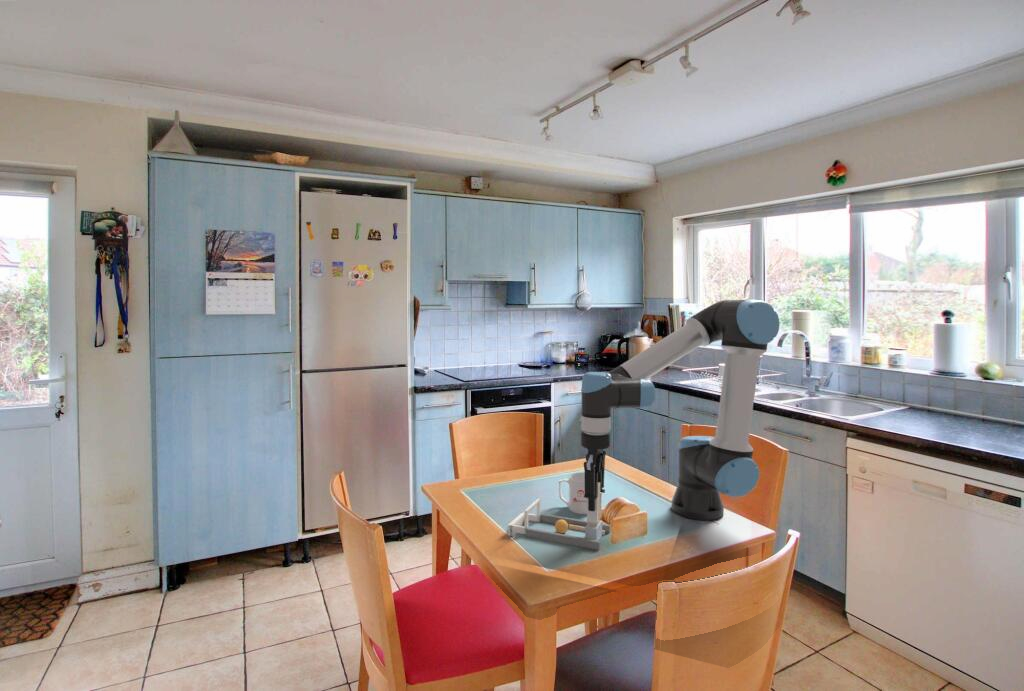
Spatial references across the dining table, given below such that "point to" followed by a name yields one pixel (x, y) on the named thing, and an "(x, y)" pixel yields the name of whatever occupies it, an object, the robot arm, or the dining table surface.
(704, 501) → the robot arm
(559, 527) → the ball
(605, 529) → the pitch side rails
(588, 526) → the post
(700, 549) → the dining table surface
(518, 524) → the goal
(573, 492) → the mug
